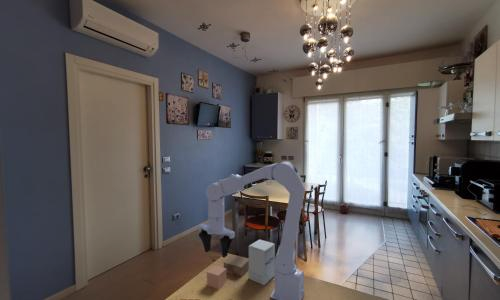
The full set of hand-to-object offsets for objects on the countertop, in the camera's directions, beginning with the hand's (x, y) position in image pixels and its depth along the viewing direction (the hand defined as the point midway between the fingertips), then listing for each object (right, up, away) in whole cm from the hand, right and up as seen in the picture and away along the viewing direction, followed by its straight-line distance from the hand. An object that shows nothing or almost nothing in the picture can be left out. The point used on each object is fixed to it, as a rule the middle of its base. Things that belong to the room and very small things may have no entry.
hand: (216, 253), depth 84 cm
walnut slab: (+7, -11, +9) cm, 16 cm away
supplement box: (+17, -11, +4) cm, 20 cm away
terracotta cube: (0, -11, 0) cm, 11 cm away
